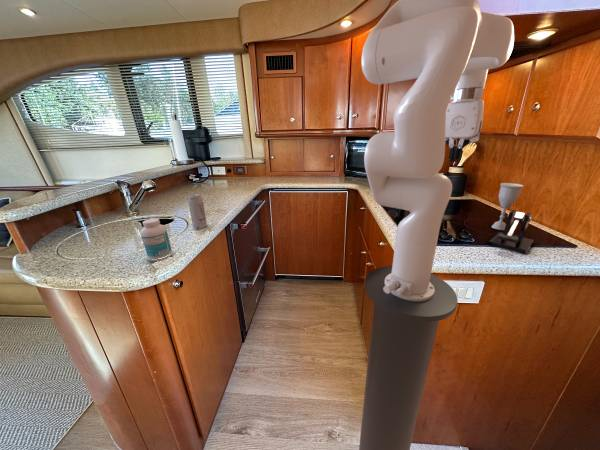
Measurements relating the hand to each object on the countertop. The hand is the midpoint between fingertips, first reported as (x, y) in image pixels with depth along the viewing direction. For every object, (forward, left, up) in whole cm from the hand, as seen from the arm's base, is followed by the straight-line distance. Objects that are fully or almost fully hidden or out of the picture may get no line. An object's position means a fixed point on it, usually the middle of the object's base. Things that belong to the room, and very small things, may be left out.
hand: (454, 161), depth 76 cm
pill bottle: (-80, +58, -29) cm, 103 cm away
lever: (+15, -17, -23) cm, 32 cm away
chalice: (+34, -10, -29) cm, 46 cm away
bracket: (+18, -17, -29) cm, 38 cm away
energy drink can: (-60, +79, -29) cm, 103 cm away
